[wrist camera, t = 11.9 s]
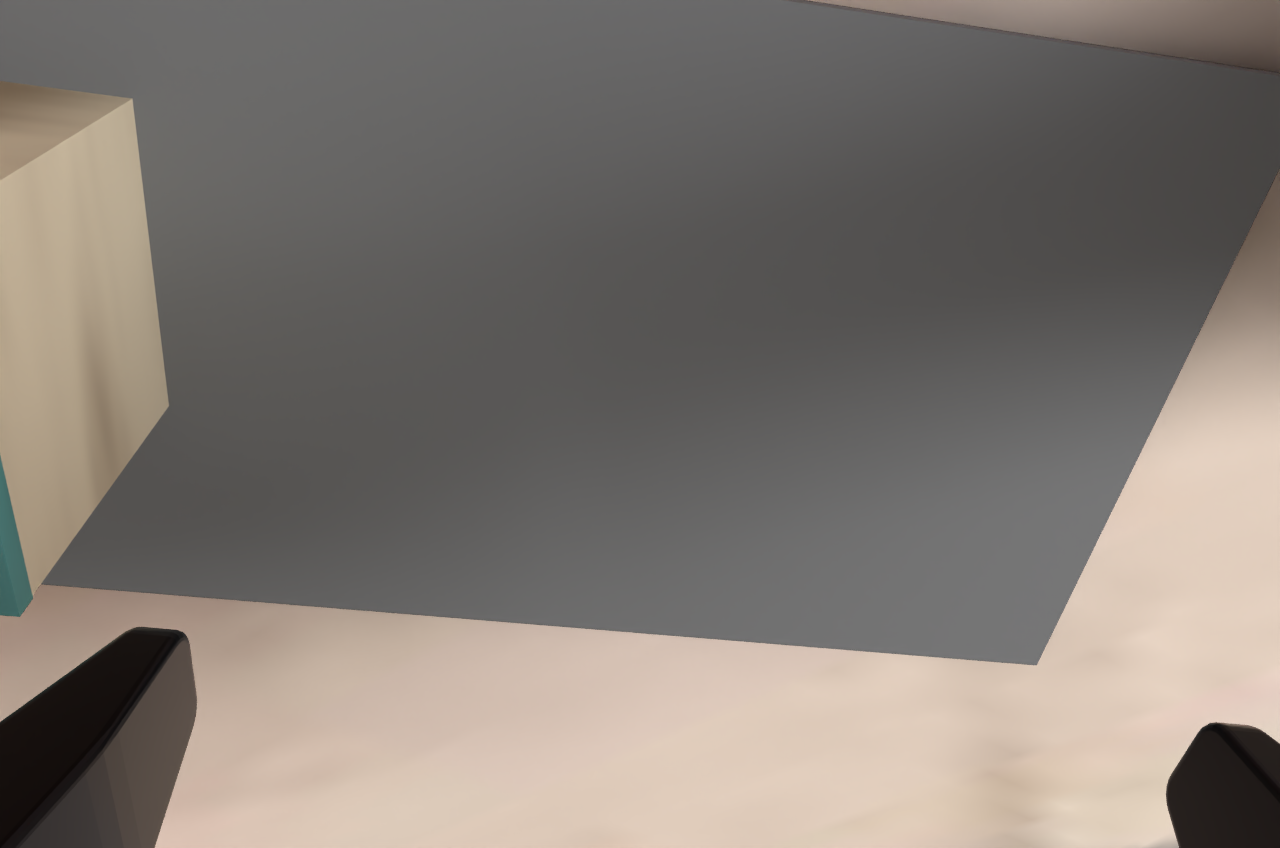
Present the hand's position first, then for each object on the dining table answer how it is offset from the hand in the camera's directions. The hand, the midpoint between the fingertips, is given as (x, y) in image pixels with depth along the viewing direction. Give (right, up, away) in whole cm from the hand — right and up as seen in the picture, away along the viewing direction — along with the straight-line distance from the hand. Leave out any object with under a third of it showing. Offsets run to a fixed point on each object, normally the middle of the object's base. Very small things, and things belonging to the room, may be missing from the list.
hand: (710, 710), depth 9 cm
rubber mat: (-4, +4, +11) cm, 12 cm away
